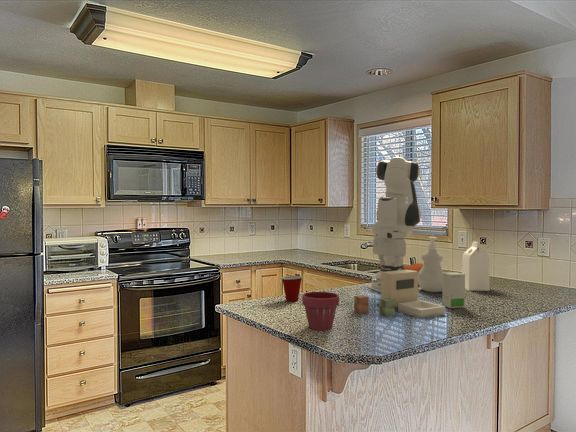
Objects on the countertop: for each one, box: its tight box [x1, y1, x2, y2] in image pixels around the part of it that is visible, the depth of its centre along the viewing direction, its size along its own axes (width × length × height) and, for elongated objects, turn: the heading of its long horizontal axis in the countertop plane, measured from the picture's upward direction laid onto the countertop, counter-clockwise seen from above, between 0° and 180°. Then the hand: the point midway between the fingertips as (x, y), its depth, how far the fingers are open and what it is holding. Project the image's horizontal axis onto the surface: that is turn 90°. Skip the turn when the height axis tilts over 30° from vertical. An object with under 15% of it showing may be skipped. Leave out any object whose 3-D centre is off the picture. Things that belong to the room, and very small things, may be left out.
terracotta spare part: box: [353, 294, 370, 315], centre depth 205 cm, size 4×4×7 cm
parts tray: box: [397, 299, 446, 319], centre depth 203 cm, size 14×14×4 cm
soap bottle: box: [418, 236, 445, 293], centre depth 250 cm, size 17×12×29 cm
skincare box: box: [441, 271, 466, 309], centre depth 215 cm, size 8×7×16 cm
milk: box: [461, 241, 491, 292], centre depth 258 cm, size 12×12×26 cm
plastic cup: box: [280, 275, 303, 303], centre depth 228 cm, size 11×11×12 cm
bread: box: [404, 263, 424, 286], centre depth 277 cm, size 16×27×11 cm, turn 131°
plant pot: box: [301, 291, 340, 331], centre depth 180 cm, size 14×14×13 cm
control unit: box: [376, 270, 419, 311], centre depth 215 cm, size 10×18×16 cm, turn 118°
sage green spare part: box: [378, 298, 396, 318], centre depth 199 cm, size 4×4×7 cm
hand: (388, 265), depth 200 cm, fingers open, 8 cm apart
